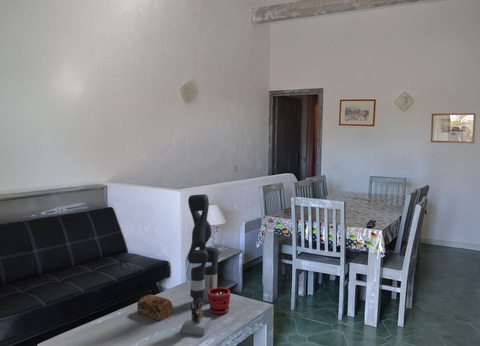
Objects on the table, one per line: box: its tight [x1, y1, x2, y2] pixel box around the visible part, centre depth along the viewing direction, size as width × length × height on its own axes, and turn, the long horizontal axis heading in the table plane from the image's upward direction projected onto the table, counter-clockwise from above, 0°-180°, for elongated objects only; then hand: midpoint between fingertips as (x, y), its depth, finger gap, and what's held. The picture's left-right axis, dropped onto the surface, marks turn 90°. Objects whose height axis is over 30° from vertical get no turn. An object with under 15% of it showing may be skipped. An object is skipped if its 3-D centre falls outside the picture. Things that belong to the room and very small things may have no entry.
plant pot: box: [208, 287, 231, 315], centre depth 229 cm, size 13×13×12 cm
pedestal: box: [181, 315, 212, 337], centre depth 206 cm, size 12×12×4 cm
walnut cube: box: [191, 308, 203, 322], centre depth 206 cm, size 4×4×5 cm
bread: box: [136, 294, 173, 321], centre depth 222 cm, size 19×11×10 cm, turn 55°
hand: (197, 318), depth 206 cm, fingers closed on walnut cube, 4 cm apart
